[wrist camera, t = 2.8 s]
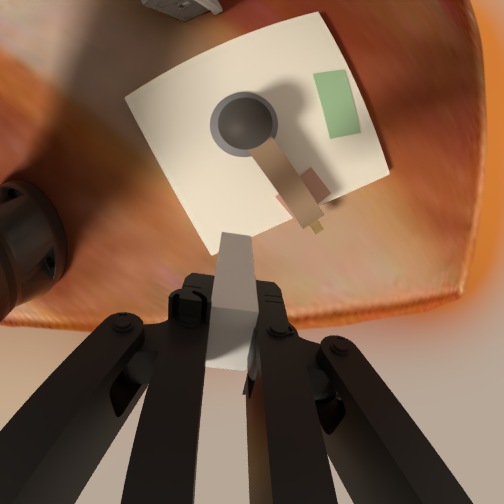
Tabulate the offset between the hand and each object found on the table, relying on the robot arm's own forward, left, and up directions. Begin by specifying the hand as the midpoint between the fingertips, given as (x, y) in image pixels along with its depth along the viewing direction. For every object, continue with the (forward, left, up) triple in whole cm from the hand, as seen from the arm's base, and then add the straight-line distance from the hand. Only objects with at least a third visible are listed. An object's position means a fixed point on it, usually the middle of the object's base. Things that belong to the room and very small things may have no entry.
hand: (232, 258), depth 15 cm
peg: (+5, +1, -12) cm, 13 cm away
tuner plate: (+5, +5, -14) cm, 16 cm away
